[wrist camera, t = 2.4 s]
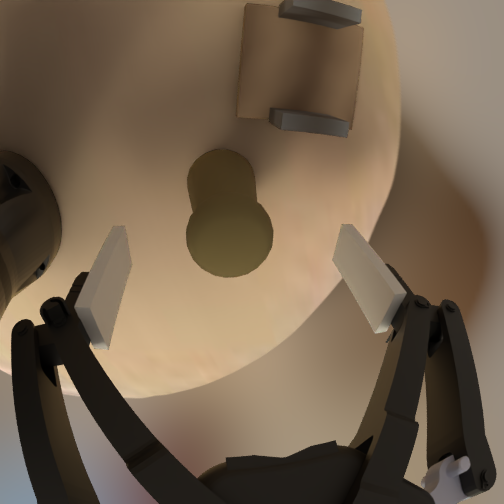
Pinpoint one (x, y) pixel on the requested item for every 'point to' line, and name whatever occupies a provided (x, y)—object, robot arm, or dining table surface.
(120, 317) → the dining table surface
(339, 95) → the stand
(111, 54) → the dining table surface
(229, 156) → the cork
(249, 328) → the dining table surface
